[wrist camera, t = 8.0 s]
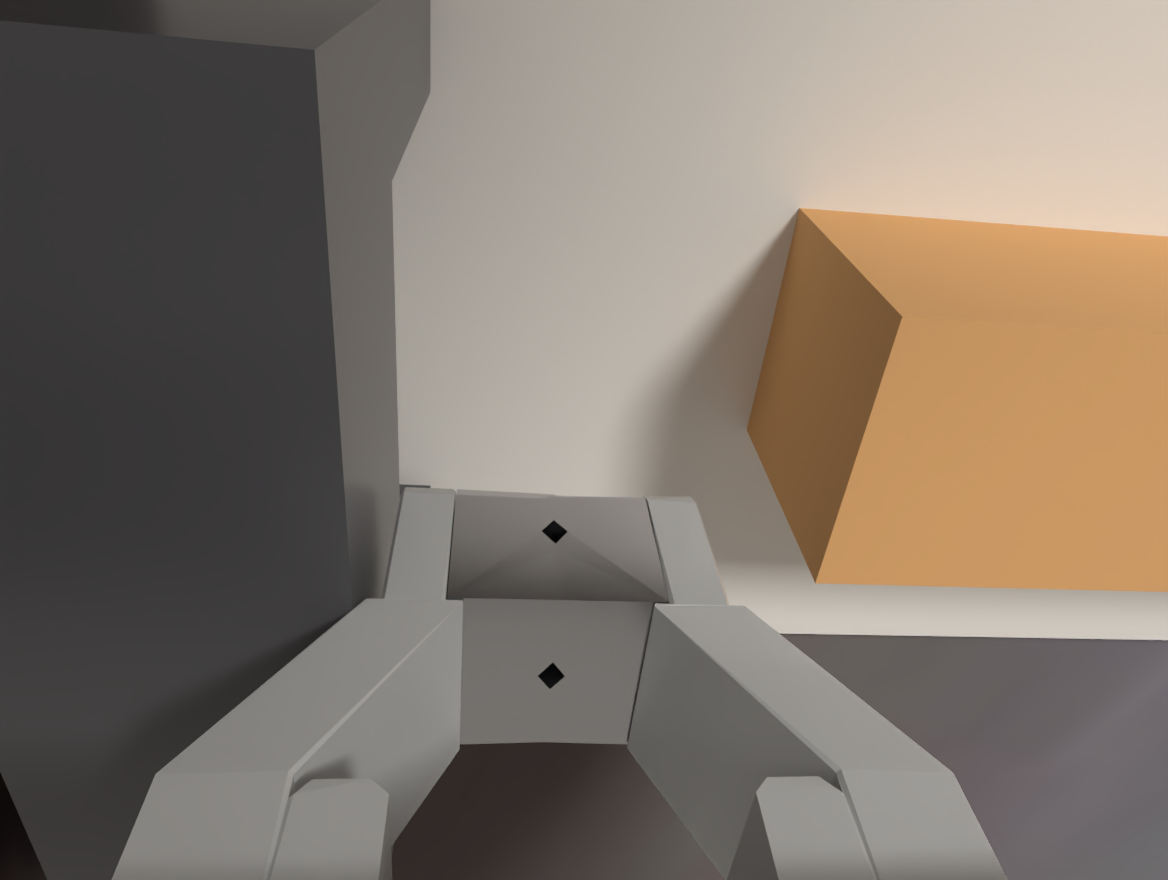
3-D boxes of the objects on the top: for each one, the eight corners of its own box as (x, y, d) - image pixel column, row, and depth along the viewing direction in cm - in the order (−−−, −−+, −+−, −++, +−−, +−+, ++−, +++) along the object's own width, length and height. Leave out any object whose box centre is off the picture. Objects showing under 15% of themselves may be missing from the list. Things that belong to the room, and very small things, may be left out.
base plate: (143, -292, 10) (109, -310, 9) (1919, -51, 13) (2018, -47, 12) (266, 589, 17) (254, 624, 17) (1374, 613, 20) (1411, 644, 19)
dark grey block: (178, -63, 10) (-341, -12, 4) (430, -36, 10) (314, 49, 4) (262, 547, 15) (92, 984, 9) (430, 551, 15) (377, 976, 9)
